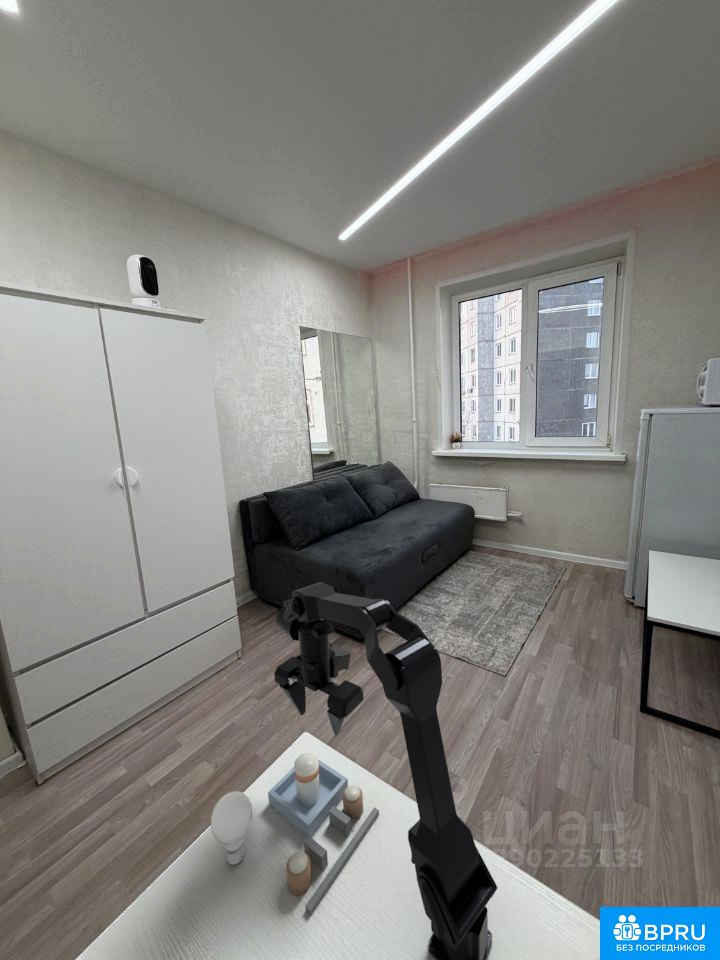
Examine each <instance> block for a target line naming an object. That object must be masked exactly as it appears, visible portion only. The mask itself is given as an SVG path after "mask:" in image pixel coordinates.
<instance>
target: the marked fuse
mask: <svg viewBox="0 0 720 960" xmlns="http://www.w3.org/2000/svg"><path fill="white" fill-rule="evenodd" d="M318 760H319V758H318V757H317V755H316V754H315V753H314V752H313V753H312V752H304V753H301V754H300V755H299V756H298V757H296V758H295V761H294V766H295V768H294V770H295V779H296V793H297V801H298V803H299V804H300V805H301V806H303V807H310V806H313V805H314V804H316V803H317V801H318V800H319V798H320V782H319V764H318ZM294 766H293V767H294Z"/></svg>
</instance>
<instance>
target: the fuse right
mask: <svg viewBox="0 0 720 960" xmlns="http://www.w3.org/2000/svg"><path fill="white" fill-rule="evenodd" d="M363 798H364V797H363V790H362V789H361V788H360V787H359V786H357V785H354V784H352V785H351V784H350V785H348V787H347V788H346V789H345V790H344V792H343V797H342V808H343V813H344V814H346V815H347V816H348V817H350V818H351V821H356V820H359V819H360V818H362V815H363V814H364V799H363Z"/></svg>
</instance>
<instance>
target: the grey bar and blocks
mask: <svg viewBox="0 0 720 960" xmlns="http://www.w3.org/2000/svg"><path fill="white" fill-rule="evenodd" d="M379 815H380V810H379V809H377V808H376V807H375V806H373V808H372V810H371V811H370V813H369V814H368V816H367V817H366V819H365V820H364V821H363V823H362V824H361V826H360V827H358V829H357V831H356V833H355V834H354V836H353V837H352V838H351V840H350V841H349V843H348V844H347V845H346V847H345V849H344V850H343V851H342V853H341V854H340V856H339V857H338V859H337V860H336V861H335V863H333V866H332V867H331V868H330V870H329V872H328V873H327V874H326V876H325V877H324V879H323V880H322V881H321V883H320V885H318V887H317V888H316V890H315V891H314V893H313V894H312V896H311V897H310V898H309V900H308V901H307V903H306V905H305V907H304V908H305V911H306V913H307V914H309V916H312V914H313V913H314V911H315V910H316V908H317V907H318V906H319V904H320V903H321V901H322V900H323V898H324V897H325V895H326V894H327V892H328V891H329V889H330V888H331V886H332V885H333V883H334V882H335V881H336V879H337V878H338V876H339V874H340V873H341V872H342V870H343V868H344V867H345V865H346V864H347V863H348V861H349V860H350V858H351V856H352V855H353V854H354V852H355V850H357V847H358V846H359V844H360V843H361V842H362V841H363V839H364V837H365V836H366V834H367V833H368V831H369V830H370V828H371V827H372V825H373V824H374V822H375V821H376V819H377V818H378V816H379ZM328 819H329V824H330V825H331V826H332V827H333V828H335V830H337V831H338V832H339V833H341V834H343V836H345V837H349V836H350V834H351V833H352V831H353V830H352V820H351V818H350V817H348V816H347V815H346V814H344V811H343V810H342V811H341V810H340V809H339V808H338V807H336V806H333V807H332V808H331V809H330V810H329V815H328ZM303 849H304V851H303V852H305V853H306V854H307V855H308V856H309V858H310V862H311V863H312V864H314V865H315V866H316V867H317V868H318V869H320V870H321V871H322V872H323V871H325V869H326V868H327V866H328V865H329V861H328V860H329V859H328V850H327V849H326V848H324V847H323V846H322V845H321V844H320V843H318V842H317V841H316V840H315V839H314V838H312V836H311V837H310V836H306V839H305V840H304V841H303Z"/></svg>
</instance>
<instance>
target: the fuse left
mask: <svg viewBox="0 0 720 960" xmlns="http://www.w3.org/2000/svg"><path fill="white" fill-rule="evenodd" d="M285 869H286V878H287V879H286V880H287V881H286V882H287V889H288V892H289V894H291V895H292V896H294V897H301V896H304V895H305V894H306V893H307V892H308V891H309V889H310V888H311V885H312V868H311V861H310V858H309V856H308V855H307V854H306V853H305V852H304V851H297V852H294V853H293V854H292V855H290V856H289V858H288V860H287V862H286V868H285Z"/></svg>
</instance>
